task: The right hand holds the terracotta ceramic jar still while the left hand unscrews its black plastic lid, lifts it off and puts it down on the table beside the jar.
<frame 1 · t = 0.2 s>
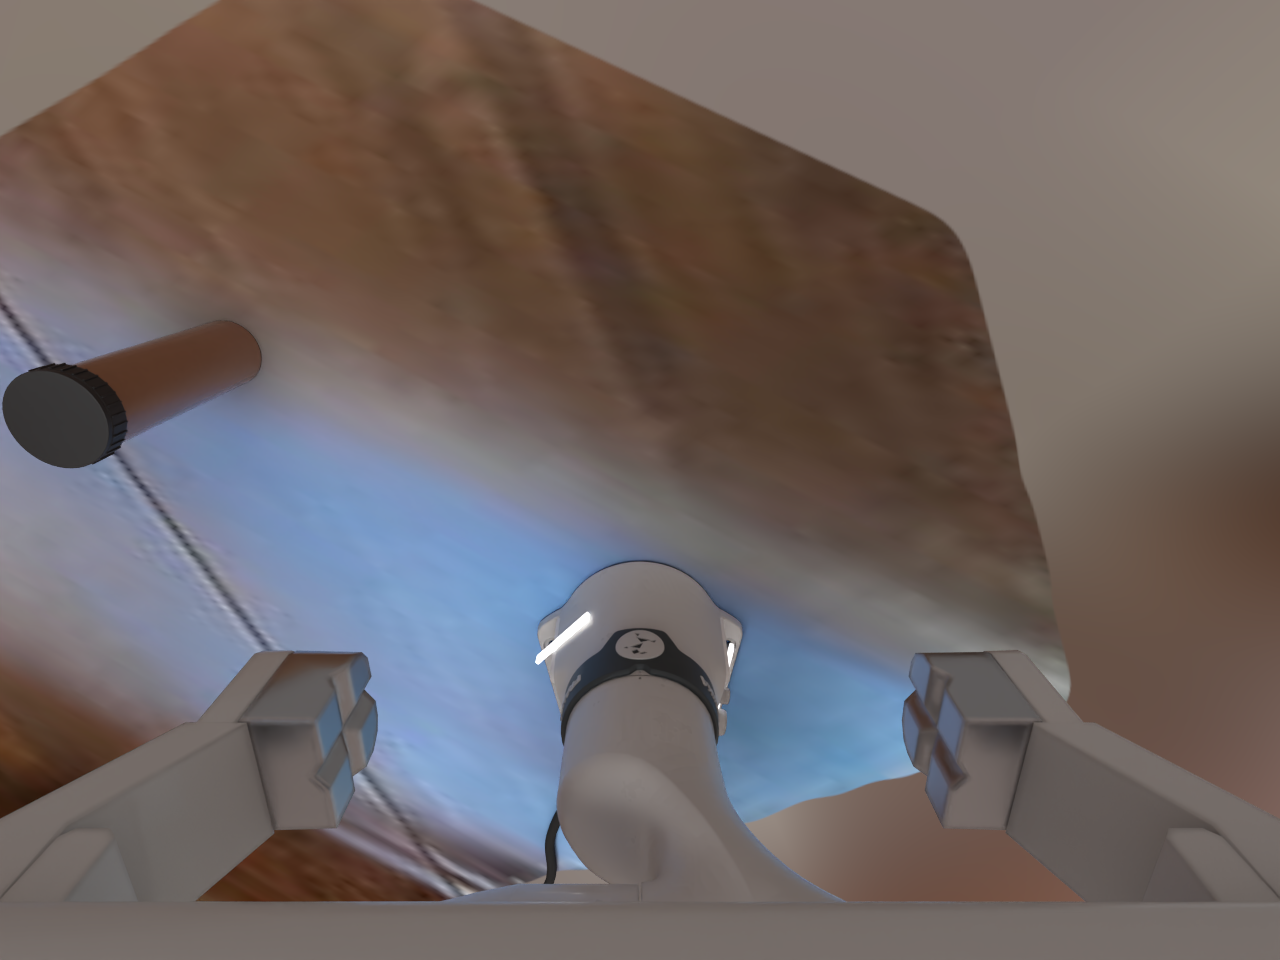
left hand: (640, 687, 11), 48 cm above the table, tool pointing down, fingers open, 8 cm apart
lid: (60, 418, 41), point 18 cm above the table, screwed on, not yet turned
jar: (228, 352, 57), on the table
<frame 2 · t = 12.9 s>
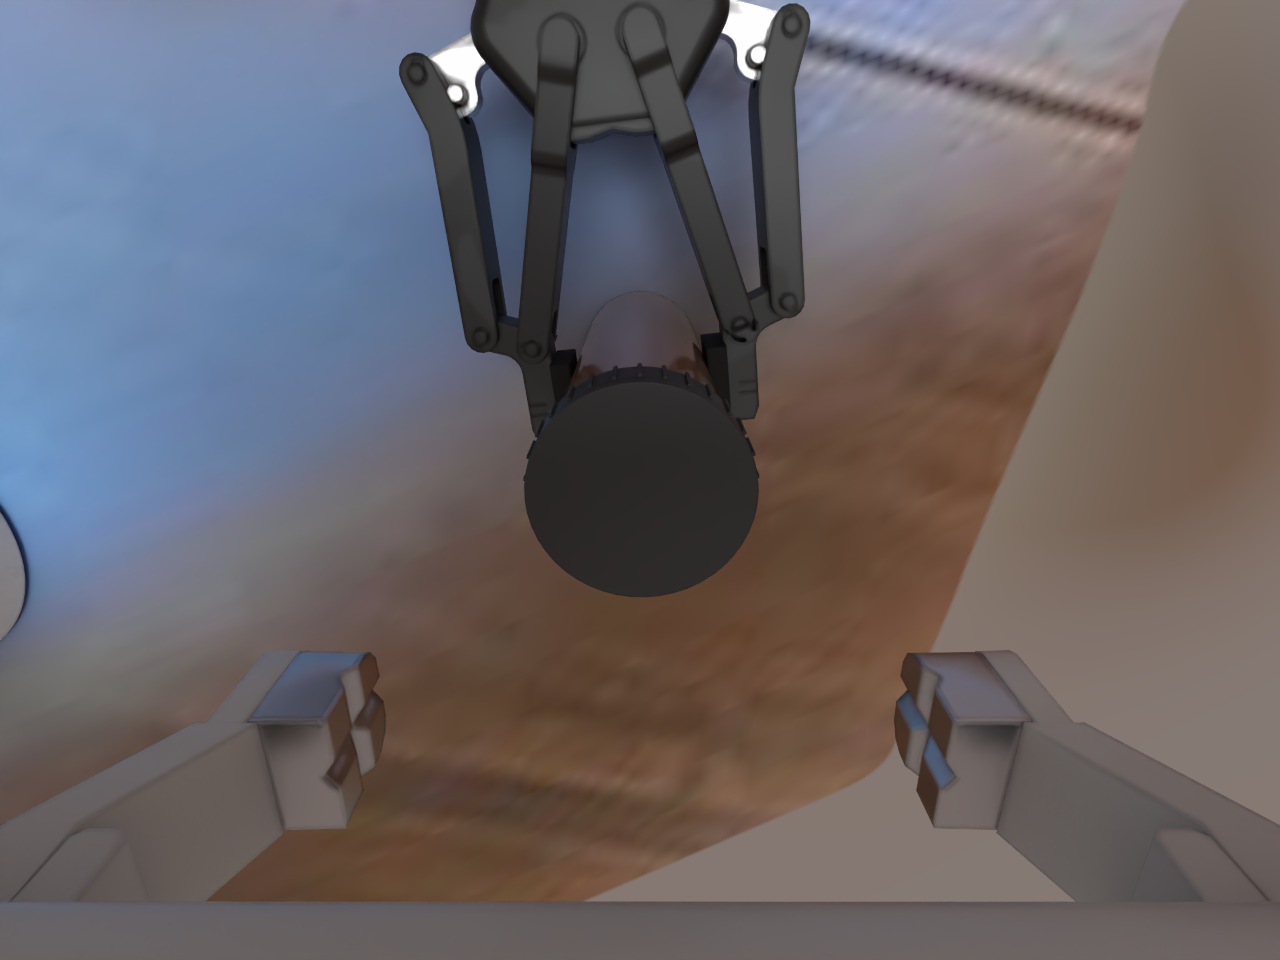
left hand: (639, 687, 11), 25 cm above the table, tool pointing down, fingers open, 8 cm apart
right hand: (655, 499, 30), fingers closed on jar, 5 cm apart
lid: (641, 490, 18), point 18 cm above the table, screwed on, not yet turned
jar: (641, 346, 34), on the table, touching right hand
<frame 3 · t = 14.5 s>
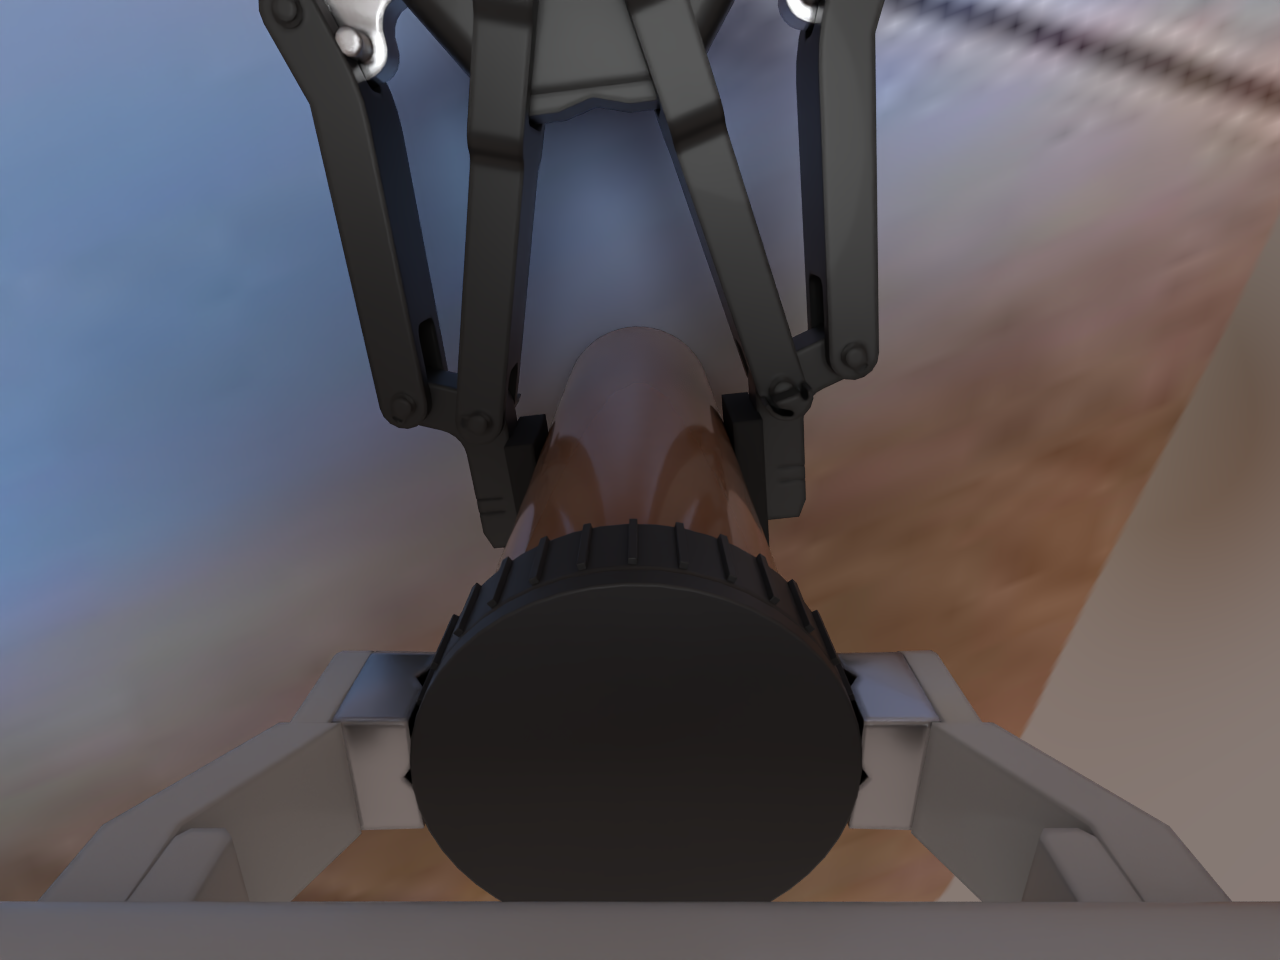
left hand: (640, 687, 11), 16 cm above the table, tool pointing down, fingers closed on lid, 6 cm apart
right hand: (657, 620, 22), fingers closed on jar, 5 cm apart
lid: (636, 760, 9), point 18 cm above the table, screwed on, not yet turned, touching left hand
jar: (638, 397, 26), on the table, touching right hand
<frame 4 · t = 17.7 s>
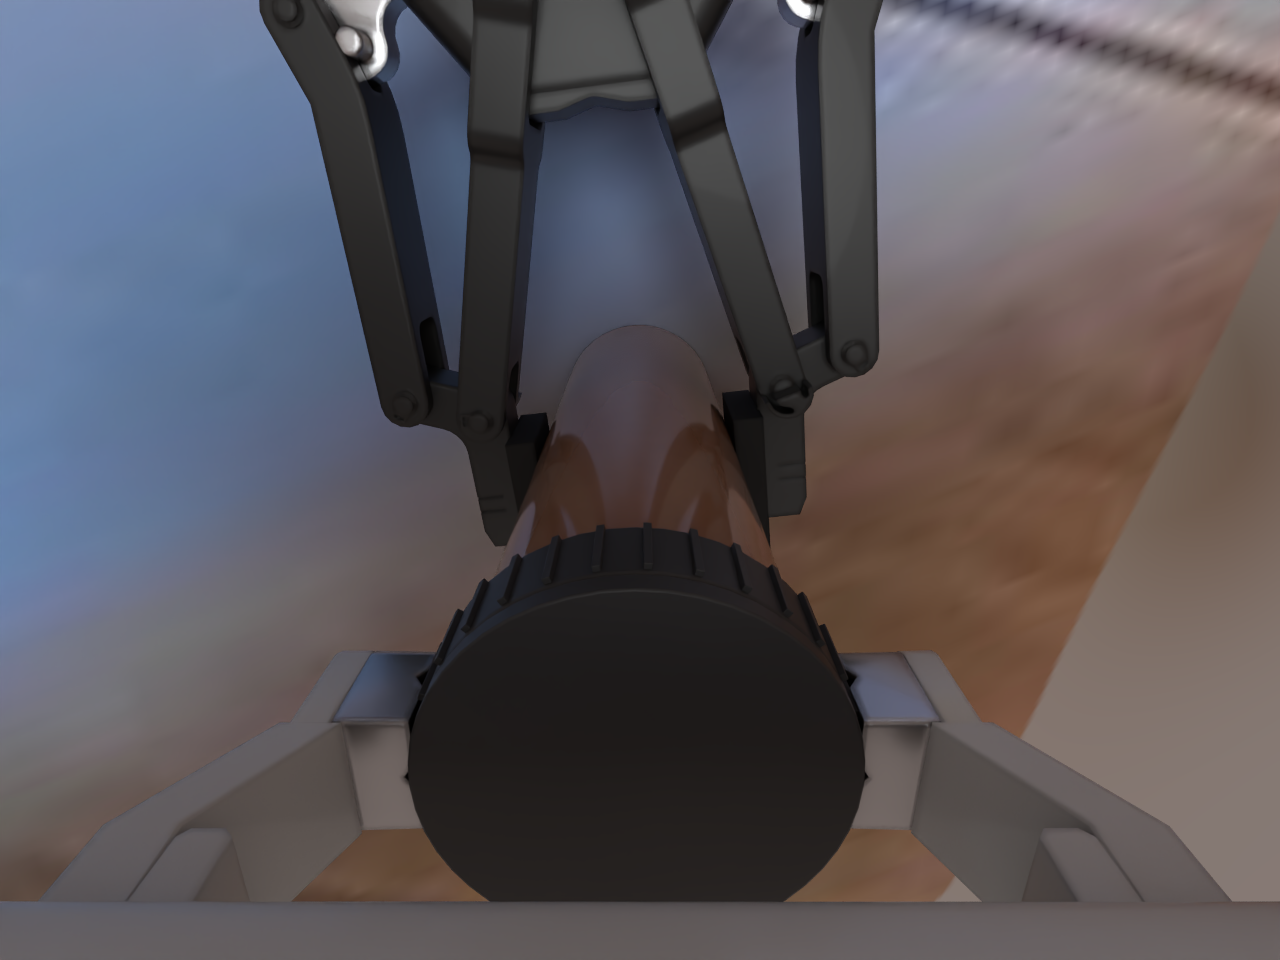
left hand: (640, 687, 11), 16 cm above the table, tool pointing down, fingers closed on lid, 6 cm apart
right hand: (658, 618, 22), fingers closed on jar, 5 cm apart
lid: (636, 766, 9), point 18 cm above the table, turned 80° so far, risen 0.1 cm, still on its thread, touching left hand
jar: (639, 396, 26), on the table, touching right hand
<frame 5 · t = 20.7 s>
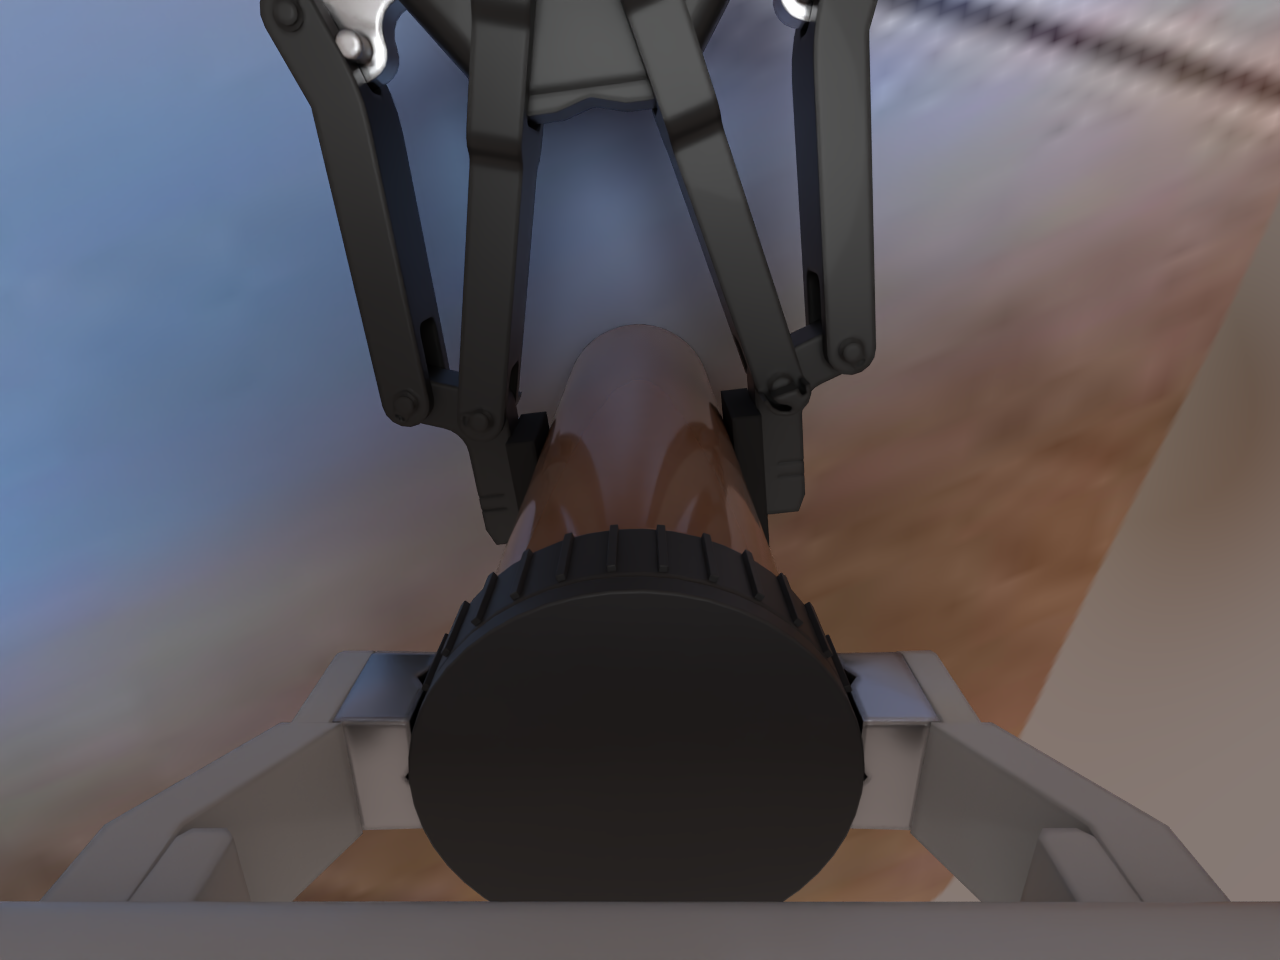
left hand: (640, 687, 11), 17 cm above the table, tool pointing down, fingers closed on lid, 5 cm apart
right hand: (658, 615, 22), fingers closed on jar, 5 cm apart
lid: (636, 767, 9), point 18 cm above the table, turned 160° so far, risen 0.3 cm, still on its thread, touching left hand
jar: (638, 395, 26), on the table, touching right hand
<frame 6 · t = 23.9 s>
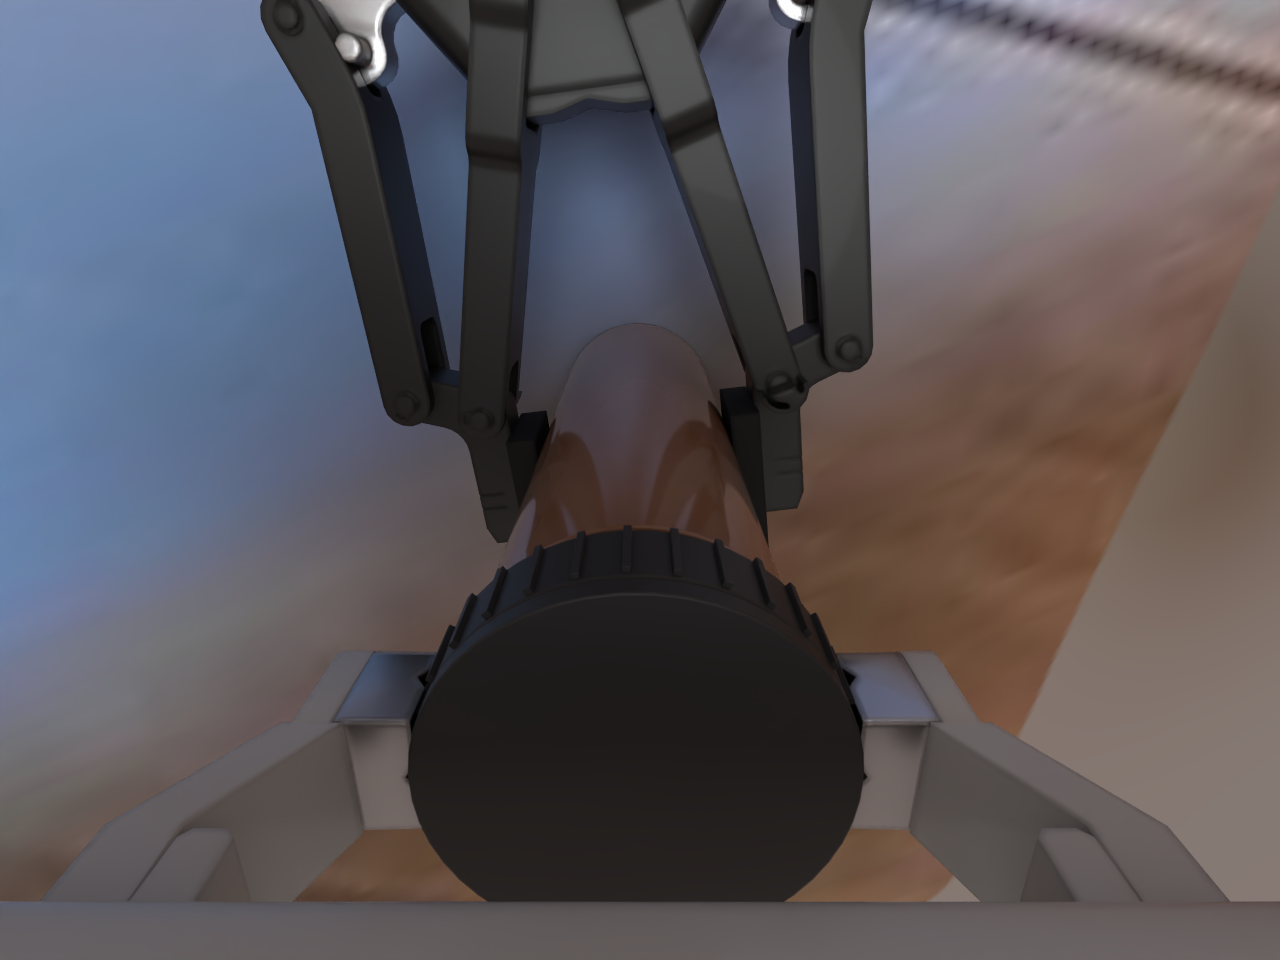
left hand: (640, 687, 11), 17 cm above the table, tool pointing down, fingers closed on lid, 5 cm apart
right hand: (659, 612, 22), fingers closed on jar, 5 cm apart
lid: (636, 769, 9), point 18 cm above the table, turned 241° so far, risen 0.4 cm, still on its thread, touching left hand
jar: (637, 394, 26), on the table, touching right hand
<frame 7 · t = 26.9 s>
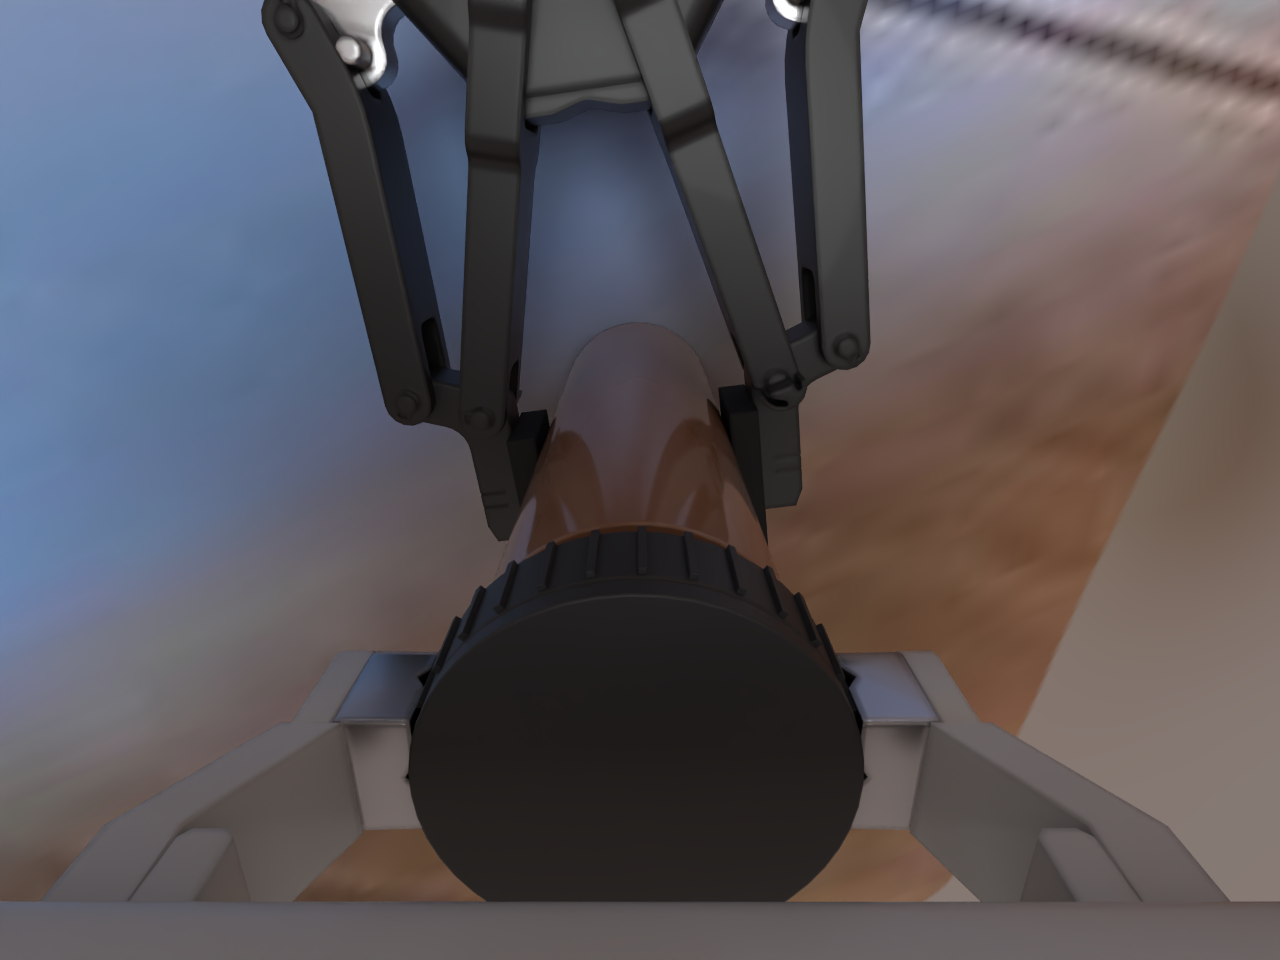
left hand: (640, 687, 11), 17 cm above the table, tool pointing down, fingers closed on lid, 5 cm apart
right hand: (659, 609, 22), fingers closed on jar, 5 cm apart
lid: (636, 769, 9), point 18 cm above the table, turned 321° so far, risen 0.6 cm, still on its thread, touching left hand
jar: (637, 392, 26), on the table, touching right hand
when the left hand's fingers open (2 cm above the table, at t = 35.7 s): lid drops 2 cm, point 1 cm above the table.
when the right hand's fingers open (6 cm above the table, at t = 36.5 s): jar stays where it is, on the table.
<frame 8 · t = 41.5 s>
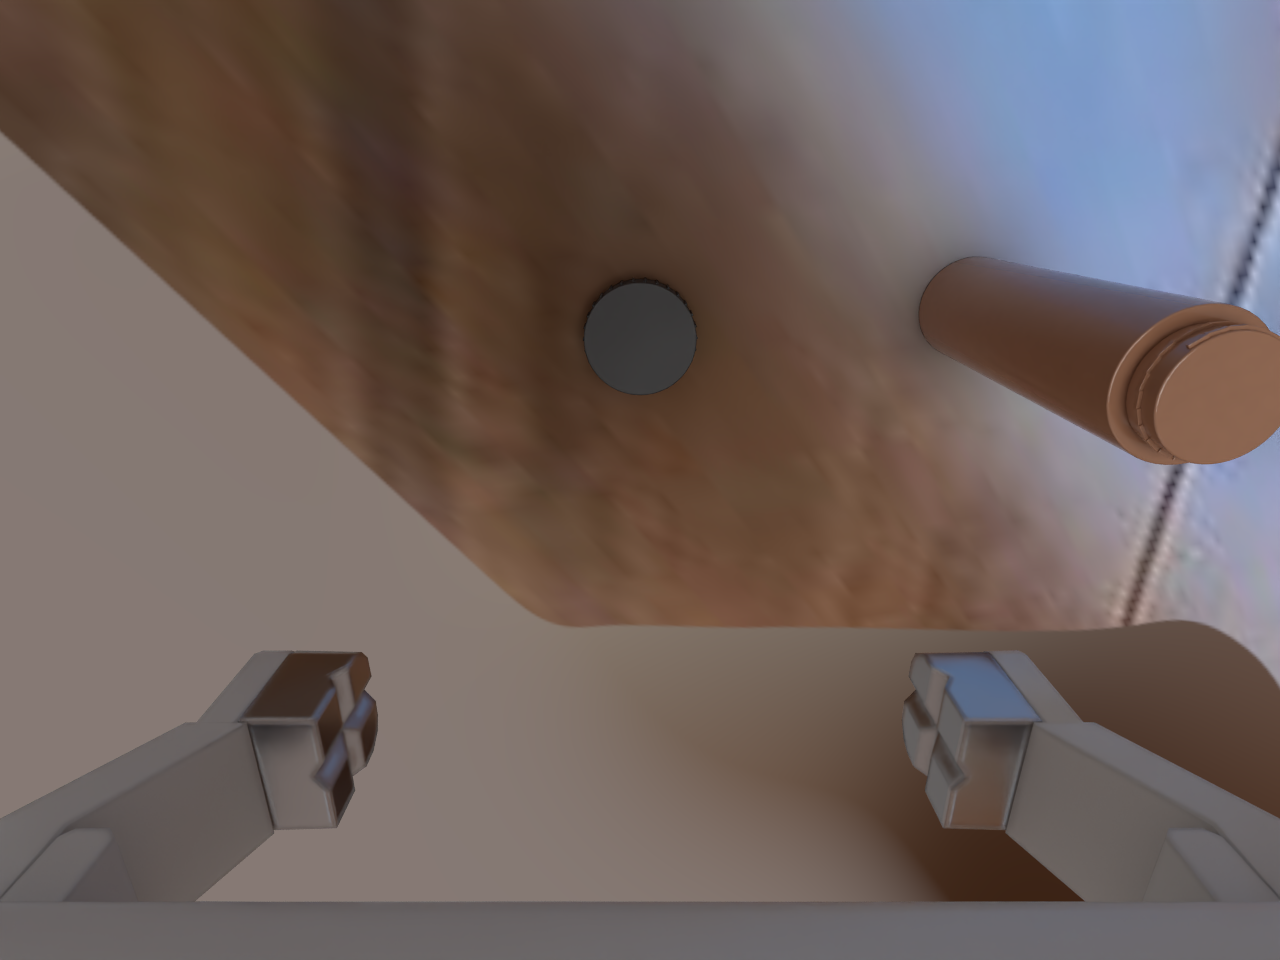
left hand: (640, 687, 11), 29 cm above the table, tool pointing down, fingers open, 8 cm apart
lid: (640, 339, 37), point 1 cm above the table, off its thread
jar: (968, 308, 38), on the table
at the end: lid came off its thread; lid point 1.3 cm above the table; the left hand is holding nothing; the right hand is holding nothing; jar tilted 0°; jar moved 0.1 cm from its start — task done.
